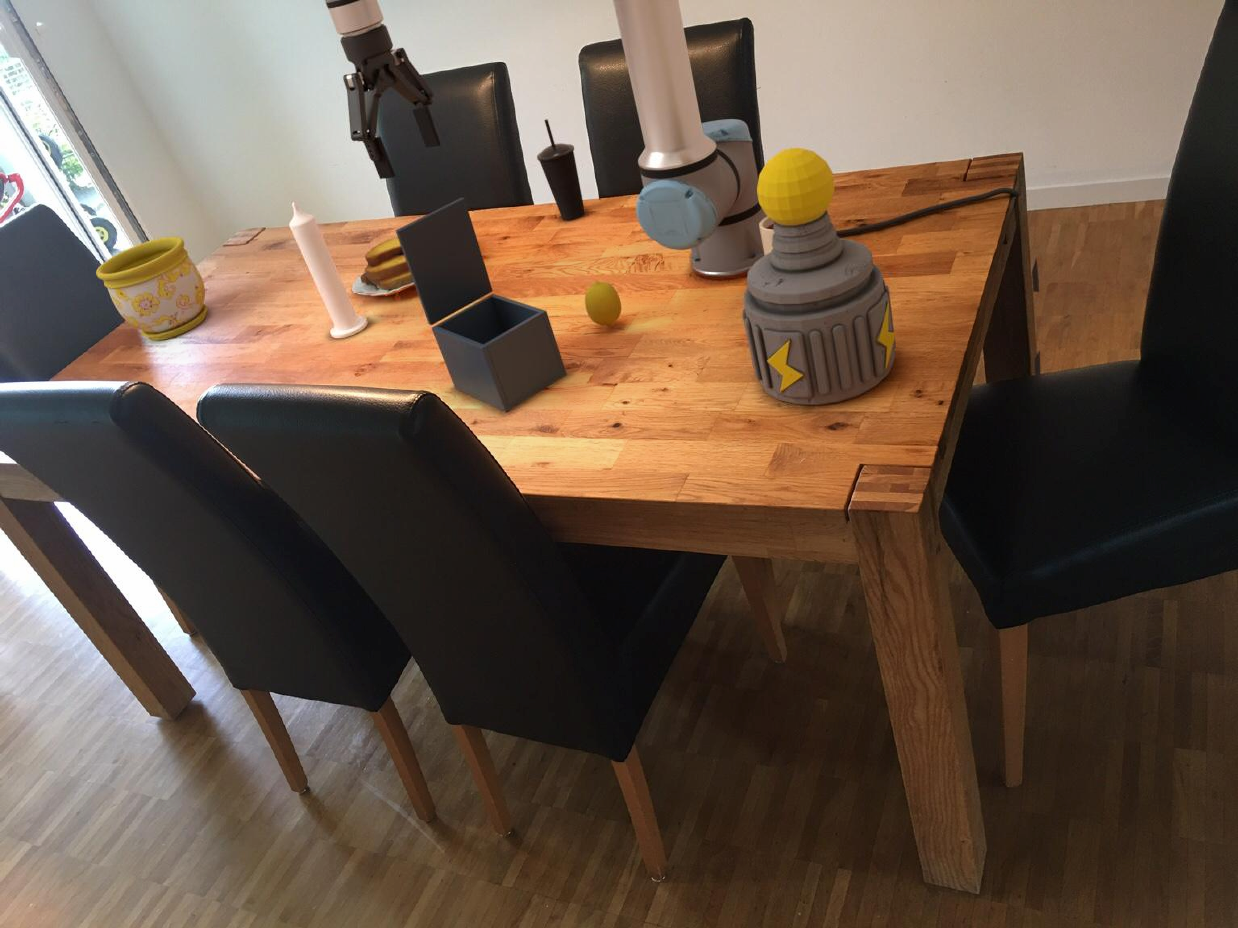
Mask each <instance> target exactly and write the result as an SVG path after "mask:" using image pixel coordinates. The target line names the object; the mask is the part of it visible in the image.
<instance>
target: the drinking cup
mask: <svg viewBox="0 0 1238 928" xmlns="http://www.w3.org/2000/svg"><path fill="white" fill-rule="evenodd" d="M544 124H545V127H546V131H547V134H548V138H549V141H550V145H549V146H546V147H545V148H544V149H542V151H541V152H539V153H538V154H537V155H536V159H537V161H538V162H539V163H540V166H541V168H542V171H543V173H544V176H545V178H546V181H547V184H548V186H549V189H550V191H551V194H552V196H553V199H554V201H555V203H556V206H557V209H558V211H559V214H560V216H561V217H560V218H561V219H562V221H565V222H568V221H569V222H571V221H575V220H579V219H580V218H582V217H583V216H585V214H586V211H585V205H584V200H583V195H582V189H581V184H580V179H579V173H578V169H577V162H576V157H575V152H574V151H575V147H574V145H573V144H570V143H556V142H555V139H554V136H553V133H552V129H551V126H550V123H549V119H548V118H547V119H544Z"/></svg>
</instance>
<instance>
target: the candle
mask: <svg viewBox="0 0 1238 928" xmlns="http://www.w3.org/2000/svg"><path fill="white" fill-rule="evenodd" d="M291 205H292V211H293V217H292V218H291V220H290V222H289V224H288V226H289V228H290V231H291V233H292V235H293V237H294V239H295V242H296V244H297V246H298V248H299V251H300V252H301V255H302V258H303V260H304V261H305V263H306V266H307V269H308V270H309V272H310V275H311V277H312V279H313V281H314V284H315V286H316V288H317V290H318V292H319V295H320V297H321V299H322V301H323V303H324V305H325V308H326V310H327V312H328V314H329V317H330V319H331V321H332V323H333V327H331V329H330V331H329V333H330V336H331V337H332V338H333V339H346V338H349V337H352V336H354V335H356V334H358V333H360V332H361V331H363V330H365V328H366V327H367V325H368V319H367V318H366V317H365V316H358V315H357V312H356V310H355V308H354V305H353V303H352V301H351V299H350V296H349V293H348V292H347V289H346V287H345V284H344V282H343V280H342V278H341V275H340V273H339V270H338V269H337V266H336V264H335V262H334V260H333V257H332V255H331V253H330V250H329V248H328V245H327V244H326V241H325V239H324V237H323V234H322V232H321V230H320V227H319V225H318V223H317V221H316V219H315V216H314V215H312V214H309V213H306V212H304V211H302V210H301V209H300V208H299V206H298V204H297V203H296V202H292V203H291Z"/></svg>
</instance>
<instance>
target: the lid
mask: <svg viewBox="0 0 1238 928" xmlns="http://www.w3.org/2000/svg"><path fill="white" fill-rule="evenodd" d="M395 233H396V237H398V239H399V242H400V245H401V248H402V250H403V253H404V256H405V259H406V262H407V264H408V267H409V270H410V273H411V276H412V278H413V281H414V284H415V285H414V287H415V290H416V293H417V295H418V298H419V300H420V304H421V307H422V309H423V312H424V314H425V318H426V320H427V323H428V325H430V326H433V325H435V324H438V322H439V323H440V321H442V320H445V319H447V318H449V316H451V315H454V314H456V312H457V313H458V311H461V310H463V309H465V308H467V307H468V306H470V305H471V304H472V303H473V304H474V303H476V301H479V300H481V299H483V298H485V296H488V295H490V294H492V293H493V292H494V290H493V287H492V283H491V280H490V278H489V274H488V270H487V267H486V263H485V260H484V257H483V254H482V251H481V248H480V244H479V241H478V238H477V234H476V232H475V229H474V225H473V222H472V218H471V215H470V212H469V208H468V205H467V201H466V198H464V197H459V198H458V199H456V200H454V201H451V202H450V203H447V204H446V205H444V206H442V207H440V208H437V209H436V210H433V211H431V212H429V213H427V214H425V215H423V216H421V217H419V218H418V219H415V220H414V221H411V222H409V223H408V224H405V225H403V226H401V227H400V228H397V229H395Z"/></svg>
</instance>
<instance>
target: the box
mask: <svg viewBox="0 0 1238 928" xmlns="http://www.w3.org/2000/svg"><path fill="white" fill-rule="evenodd" d="M431 330H432V333H433V335H434V338H435V342H436V344H437V346H438V348H439V351H440V354H441V356H442V359H443V361H444V363H445V366H446V368H447V371H448V374H449V377H450V379H451V381H452V384H453V386H454V389H455V390H458V391H460V392H462V393H463V394H466V395H468V396H470V397H472V398H475V399H476V400H478V401H480V402H483V403H484V404H487V405H489V406H491V407H494V408H496V409H498V410H500V411H502V412H504V413H507V412H509V411H512V409H515V407H518V406H519V405H521V404H523V402H525V401H527V400H529V399H530V398H532V397H533V396H535V395H536V394H538V393H540V392H541V391H543V390H545V389H546V388H547V387H549V386H551V385H553V384H554V383H556V382H557V381H559V380H561V379H563V378H564V377H566V376H567V375H568V374H567V370H566V366H565V363H564V361H563V357H562V355H561V352H560V348H559V346H558V342H557V340H556V336H555V334H554V330H553V327H552V324H551V320H550V318H549V314H548V312H547V310H545V309H542V308H539V307H537V306H533V305H529V304H527V303H523V302H520V301H517V300H514V299H511V298H508V297H506V296H503V295H498V294H496V293H490V294H488V295H486V297H483V298H481V299H479V300H477V302H474V303H473V304H472V305H471V304H470V305H468V306H467V307H465V308H463V309H461V310H460V311H459V312H457V313H454V314H452V316H450V317H447V318H445V319H443V321H441V322H439V323H436V325H434V326H432V327H431Z"/></svg>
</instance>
